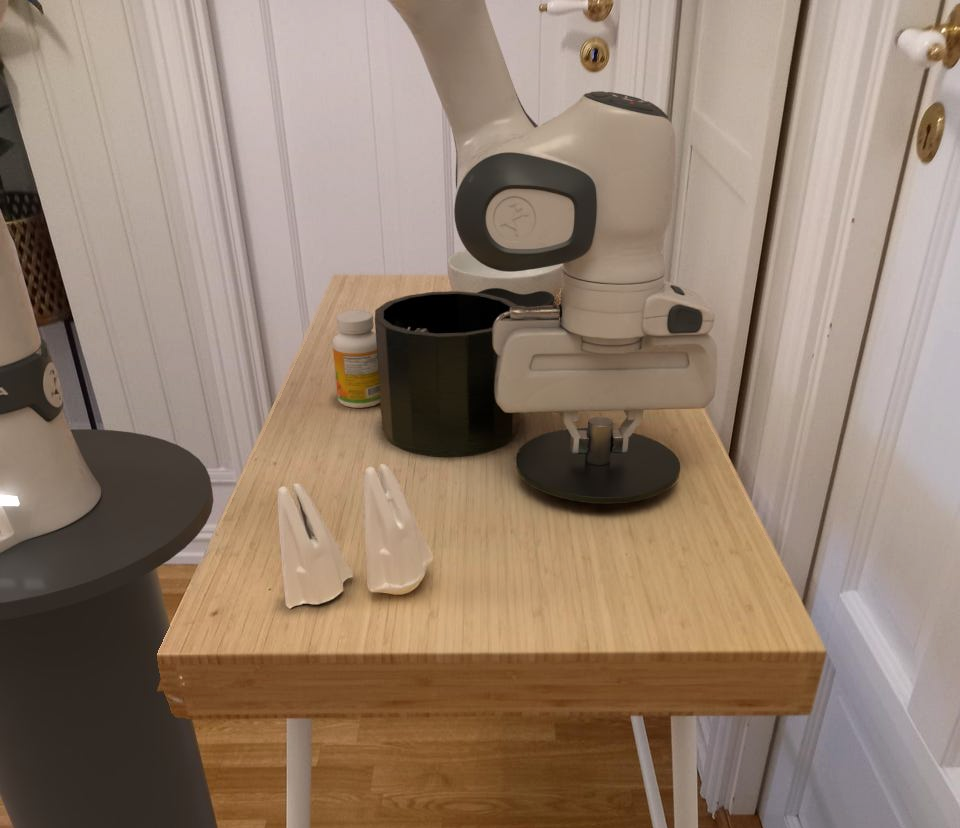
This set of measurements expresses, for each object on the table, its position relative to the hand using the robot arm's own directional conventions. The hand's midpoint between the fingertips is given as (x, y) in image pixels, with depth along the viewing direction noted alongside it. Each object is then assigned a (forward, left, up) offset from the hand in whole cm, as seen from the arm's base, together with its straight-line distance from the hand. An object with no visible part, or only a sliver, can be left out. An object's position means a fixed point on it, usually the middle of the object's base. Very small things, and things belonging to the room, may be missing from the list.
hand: (598, 451), depth 93 cm
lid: (0, 0, -2) cm, 2 cm away
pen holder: (-6, +27, -3) cm, 28 cm away
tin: (-14, +14, -3) cm, 20 cm away
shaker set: (-22, -18, -3) cm, 29 cm away
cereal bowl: (-4, +56, -3) cm, 56 cm away
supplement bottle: (-24, +23, -3) cm, 33 cm away
